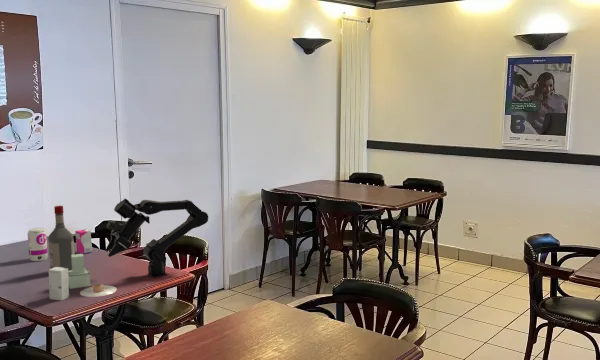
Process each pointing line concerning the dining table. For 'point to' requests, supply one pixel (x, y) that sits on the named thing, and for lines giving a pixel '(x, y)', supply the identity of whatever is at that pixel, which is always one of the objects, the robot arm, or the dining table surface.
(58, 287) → the skincare box
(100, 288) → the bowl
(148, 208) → the robot arm
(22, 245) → the dining table surface
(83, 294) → the plate
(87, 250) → the supplement box
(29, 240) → the supplement can
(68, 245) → the liquor
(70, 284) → the cover
